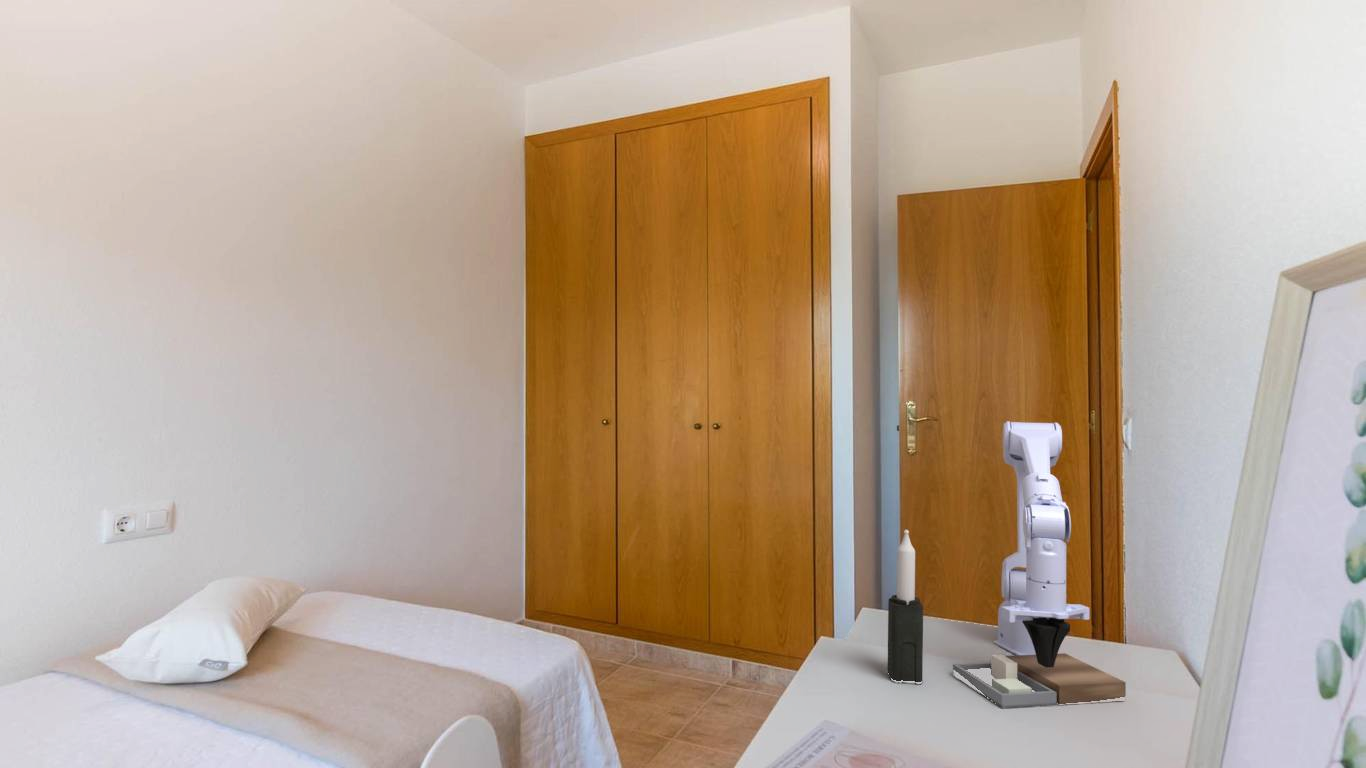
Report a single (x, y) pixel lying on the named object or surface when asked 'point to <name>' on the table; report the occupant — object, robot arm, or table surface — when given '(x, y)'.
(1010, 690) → the sage tile
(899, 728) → the table surface
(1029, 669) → the walnut board
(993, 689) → the tray
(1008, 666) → the cream tile
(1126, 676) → the table surface
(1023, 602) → the robot arm
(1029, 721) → the table surface
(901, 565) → the candle
